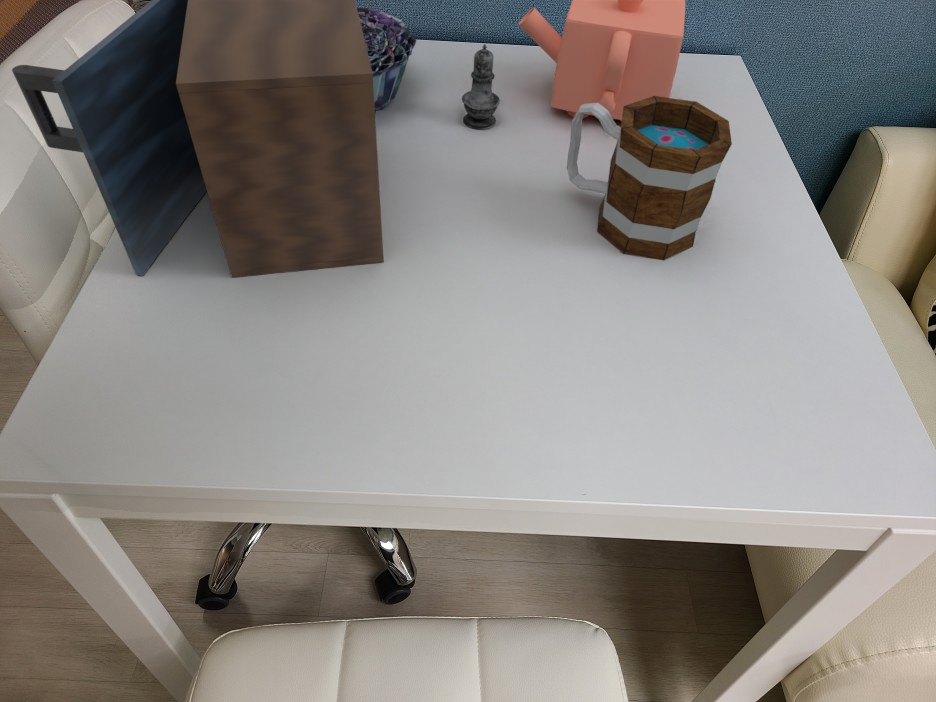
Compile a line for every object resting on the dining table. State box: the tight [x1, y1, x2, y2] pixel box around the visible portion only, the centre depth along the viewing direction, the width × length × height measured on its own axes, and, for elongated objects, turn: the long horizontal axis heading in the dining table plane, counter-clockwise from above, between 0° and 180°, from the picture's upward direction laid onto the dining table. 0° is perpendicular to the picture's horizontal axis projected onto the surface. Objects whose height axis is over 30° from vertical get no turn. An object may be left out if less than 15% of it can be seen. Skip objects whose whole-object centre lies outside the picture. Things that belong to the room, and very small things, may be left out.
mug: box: [566, 96, 733, 261], centre depth 85 cm, size 20×14×15 cm
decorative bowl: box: [357, 7, 417, 111], centre depth 106 cm, size 26×28×10 cm
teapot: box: [518, 0, 686, 123], centre depth 105 cm, size 25×23×18 cm
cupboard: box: [176, 0, 385, 278], centre depth 80 cm, size 18×26×24 cm
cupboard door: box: [11, 0, 207, 277], centre depth 79 cm, size 7×26×24 cm, turn 170°
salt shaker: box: [461, 43, 501, 131], centre depth 101 cm, size 6×6×12 cm
